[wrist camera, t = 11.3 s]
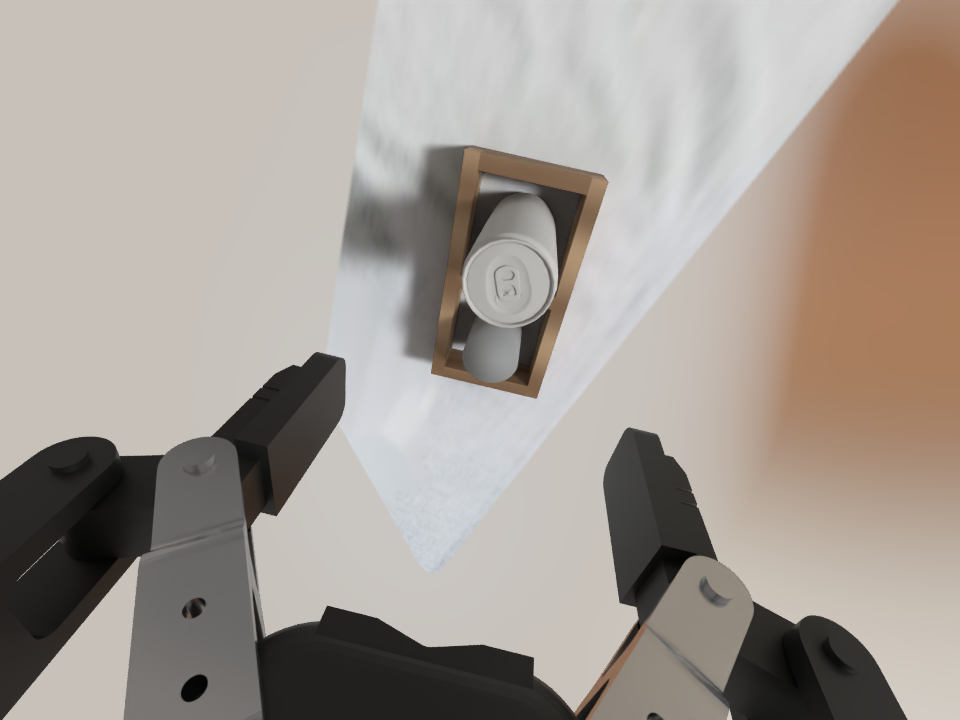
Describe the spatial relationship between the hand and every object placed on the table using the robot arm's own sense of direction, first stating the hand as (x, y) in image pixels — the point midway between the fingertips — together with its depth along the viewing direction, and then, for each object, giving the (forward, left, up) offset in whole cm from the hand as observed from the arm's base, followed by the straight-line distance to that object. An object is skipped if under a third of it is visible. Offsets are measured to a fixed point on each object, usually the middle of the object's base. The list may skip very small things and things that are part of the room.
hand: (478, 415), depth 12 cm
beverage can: (0, 0, -22) cm, 22 cm away
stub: (+8, 0, -22) cm, 23 cm away
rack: (+4, 0, -22) cm, 22 cm away
